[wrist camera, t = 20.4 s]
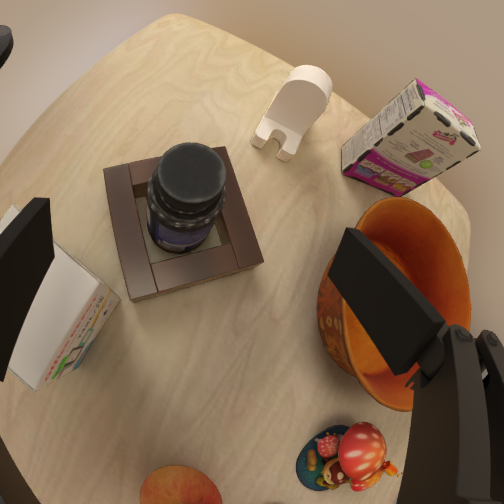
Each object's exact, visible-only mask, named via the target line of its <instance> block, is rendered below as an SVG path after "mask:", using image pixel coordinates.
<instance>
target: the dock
mask: <svg viewBox="0 0 504 504" xmlns="http://www.w3.org/2000/svg"><path fill="white" fill-rule="evenodd" d="M211 149H213V150H214V151H215V152H216V153H218V155H219V156H220V157H221V159H222V160H223V162H224V164H225V167H226V181H225V189H226V196H225V198H226V199H225V203H224V207H223V209H222V211H221V213H220V214H219V216H218V217H217V219H216V221H215V224H216V227H217V230H218V233H219V237H220V240H221V243H222V246H218V247H214V248H210V249H206V250H202V251H198V252H195V253H191V254H187V255H183V256H179V257H175V258H172V259H168V260H164V261H160V262H157V263H153V264H151V265H150V261H149V257H148V253H147V250H146V246H145V242H144V237H143V233H142V229H141V225H140V220H139V216H138V211H137V207H136V202H135V198H136V197H140V196H145V195H146V191H147V184H148V181H149V178H150V177H151V175H152V173H153V172H154V170H155V169H156V168H157V167H158V163H159V161H160V159H161V157H162V156H160V157H155V158H150V159H145V160H140V161H135V162H131V163H126V164H122V165H117V166H113V167H109V168H105V169H103V171H104V178H105V185H106V192H107V198H108V204H109V210H110V215H111V221H112V226H113V231H114V236H115V240H116V245H117V250H118V254H119V258H120V263H121V267H122V271H123V275H124V279H125V283H126V286H127V290H128V294H129V297H130V300H131V301H132V302H136V301H140V300H143V299H147V298H151V297H154V296H157V295H161V294H165V293H168V292H172V291H175V290H179V289H182V288H186V287H189V286H193V285H196V284H200V283H203V282H207V281H210V280H214V279H217V278H221V277H224V276H228V275H231V274H234V273H238V272H241V271H245V270H248V269H251V268H254V267H256V266H258V265H260V264H261V263H263V262H264V260H263V257H262V254H261V251H260V248H259V245H258V242H257V239H256V236H255V233H254V230H253V227H252V224H251V221H250V218H249V215H248V212H247V209H246V206H245V203H244V200H243V197H242V194H241V191H240V188H239V185H238V182H237V180H236V177H235V174H234V171H233V168H232V165H231V162H230V159H229V156H228V153H227V150H226V147H225V146H223V147H216V148H211Z"/></svg>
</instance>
